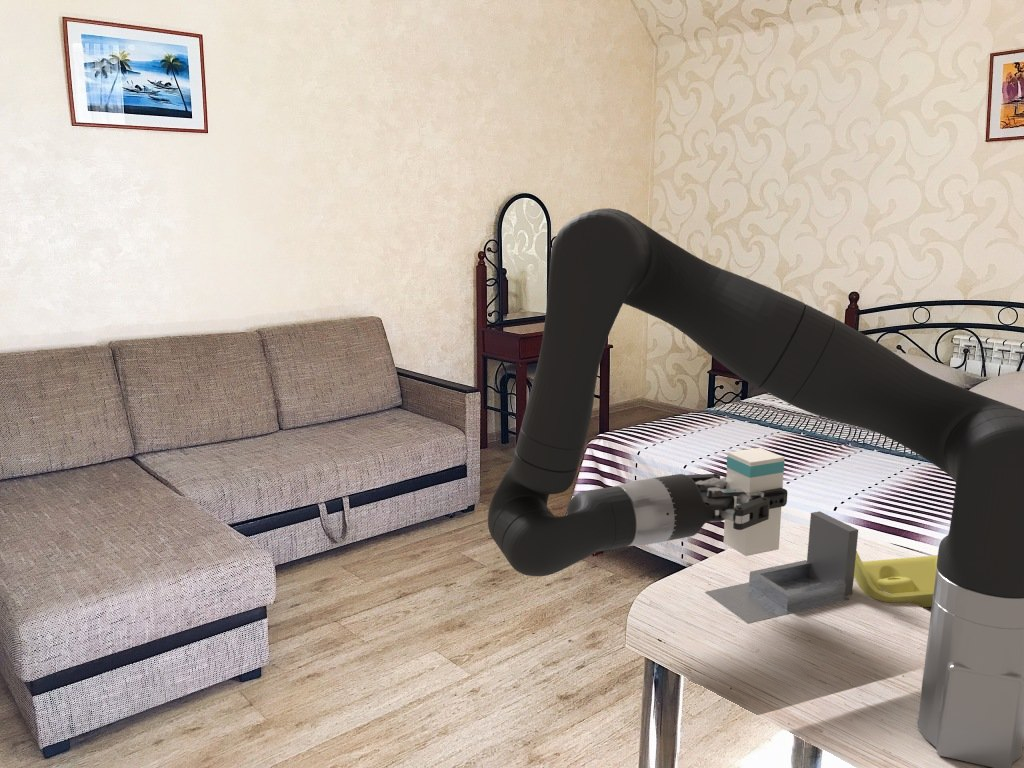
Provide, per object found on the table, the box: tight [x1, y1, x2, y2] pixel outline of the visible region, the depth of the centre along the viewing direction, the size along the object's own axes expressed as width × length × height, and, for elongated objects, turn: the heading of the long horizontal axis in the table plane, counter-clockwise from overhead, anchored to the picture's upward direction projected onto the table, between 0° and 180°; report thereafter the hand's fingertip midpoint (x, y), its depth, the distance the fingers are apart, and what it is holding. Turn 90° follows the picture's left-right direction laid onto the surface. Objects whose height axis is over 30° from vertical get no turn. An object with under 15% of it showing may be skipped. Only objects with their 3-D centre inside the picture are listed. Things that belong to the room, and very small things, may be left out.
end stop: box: [806, 511, 859, 597], centre depth 113 cm, size 2×7×10 cm, turn 22°
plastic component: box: [854, 550, 938, 608], centre depth 115 cm, size 20×7×10 cm
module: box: [723, 447, 785, 557], centre depth 105 cm, size 5×5×12 cm
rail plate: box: [704, 559, 850, 624], centre depth 110 cm, size 16×9×4 cm, turn 113°
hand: (770, 490), depth 106 cm, fingers closed on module, 4 cm apart
